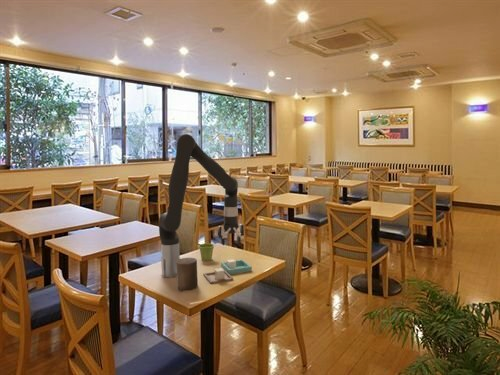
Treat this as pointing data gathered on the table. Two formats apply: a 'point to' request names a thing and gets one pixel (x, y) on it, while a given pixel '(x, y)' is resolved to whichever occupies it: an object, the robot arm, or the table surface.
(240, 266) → the dish
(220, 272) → the stone
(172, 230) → the robot arm
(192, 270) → the pillar candle
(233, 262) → the stone
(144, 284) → the table surface
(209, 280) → the tray
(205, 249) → the plant pot
